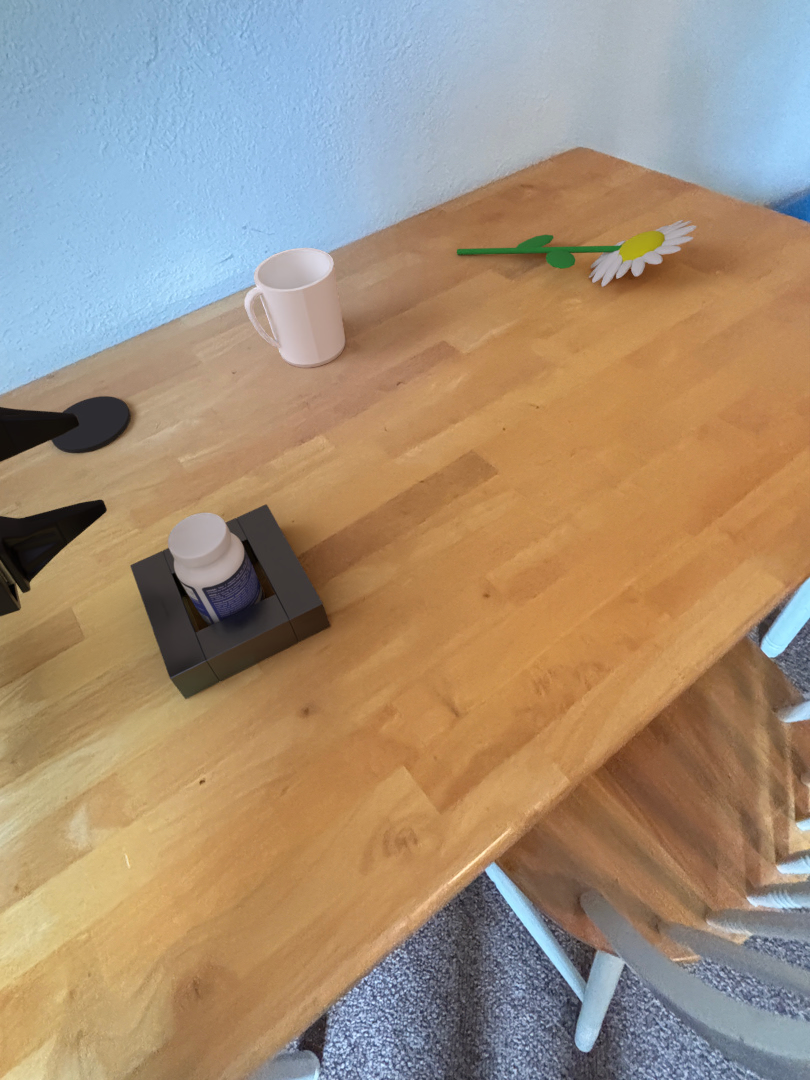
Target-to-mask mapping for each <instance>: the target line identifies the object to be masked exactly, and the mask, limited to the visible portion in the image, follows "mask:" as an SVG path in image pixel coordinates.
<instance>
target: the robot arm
mask: <svg viewBox="0 0 810 1080" xmlns="http://www.w3.org/2000/svg"><path fill="white" fill-rule="evenodd" d="M78 426H79V421H78V418H77V416H76V414H74V413H64V412H63V411H49V410H47V411H46V410H33V409H32V410H31V409H20V408H19V409H18V408H9V407H4V406H3V407H2V406H0V463H2V462H4V461H6V460H8V459H11V458H14V457H16V456H17V455H20V454H22V453H24V452H26V451H29V450H31V449H33V448H34V449H35V448H36V447H38V446H40V445H43V444H45V443H48V442H50V441H51V440H52V439H54V438H57V437H59V436H61V435H63V434H65V433H67V432H69V431H70V430H72V429H74V428H76V427H78ZM107 512H108V508H107V506H106V504H105V501H104V499H94V500H89V501H82V502H78V503H74V504H70V505H66V506H62V507H58V508H55V509H50V510H47V511H43V512H40V513H36V514H32V515H28V516H24V517H11V516H4V515H2V516H1V515H0V617H3V616H7V615H9V614H12V613H15V612H16V613H17V612H18V611H21V609H22V604H21V601H20V596H19V591H18V589H19V590H20V592H21V593H22V594H27V593H28V592H31V590H32V588H31V582H32V580H34V578H36V576H38V574H39V573H41V571H42V570H43V569H44V568H45V567H47V565H48V564H49V563H50V562H51V561H52V560H54V558H55V557H57V555H58V554H59V553H60V552H61V551H62V550H64V549H65V548H66V547H67V546H68V545H69V544H70V543H72V542H73V541H74V540H75V539H76V538H77V537H79V536H80V535H81V534H82V533H84V532H85V531H86V530H87V529H88V528H89V527H90V526H91V525H93V524H94V523H95V522H96V521H98V520H99V519H100V518H101V517H102V516H103V515H105V514H106V513H107Z"/></svg>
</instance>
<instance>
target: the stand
mask: <svg viewBox="0 0 810 1080" xmlns="http://www.w3.org/2000/svg"><path fill="white" fill-rule="evenodd" d="M225 523H226V525H227V527H228V529H229V531H230V532H231V533H233V534H234V535H236V536H237V537H238V538H239V539H240V541H241V542H242V544H243V546H244V548H245V550H246V553H247V555H248V557H249V559H250V561H251V564H252V566H254V565H256V564H257V565H258V566H259V568H260V570H261V572H262V574H263V576H264V578H265V580H266V582H267V584H268V586H269V588H270V590H271V592H272V593H273V595H271V596H269V597H267V598H265V600H262V601H260V602H258V603H256V604H254V605H252V606H250V607H248V608H246V609H244V610H242V611H240V612H238V613H235V614H233V615H231V616H229V617H227V618H225V619H223V620H221V621H219V622H217V623H215V624H213V625H210V626H208V625H207V626H206V627H204V628H202V629H199V626H198V624H197V621H196V619H195V616H194V614H193V611H192V609H191V606H190V603H189V602H188V599H187V596H189V595H188V594H187V592H186V590H185V589H184V587H183V585H182V584H181V582H180V580H179V579H178V577H177V575H176V573H175V569H174V557H173V555H172V553H171V552H170V550H169V547H167V548H165V549H163V550H161V551H158V552H157V553H154V554H152V555H150V556H148V557H147V556H146V558H143V559H141V560H139V561H137V562H133V563H132V564H130V565H129V567H130V570H131V573H132V575H133V578H134V581H135V583H136V586H137V589H138V592H139V595H140V598H141V600H142V603H143V606H144V609H145V612H146V615H147V618H148V620H149V623H150V626H151V629H152V632H153V635H154V638H155V640H156V643H157V646H158V649H159V652H160V654H161V658H162V661H163V663H164V666H165V669H166V672H167V675H168V677H169V679H170V681H171V682H172V684H173V685H174V686H175V687H176V689H177V690H178V691H179V694H180V695H181V696H182V697H183V698H184V699H185V700H187V699H189V698H191V697H194V696H195V695H198V694H200V693H202V692H203V691H205V690H207V689H209V688H211V687H213V686H215V685H217V684H219V683H222V682H223V681H225V680H227V679H229V678H232V677H233V676H235V675H238V674H240V673H241V672H243V671H246V670H248V669H249V668H251V667H253V666H255V665H257V664H259V663H261V662H264V661H266V660H267V659H269V658H271V657H273V656H275V655H277V654H279V653H281V652H283V651H285V650H287V649H289V648H291V647H294V646H295V645H297V644H299V643H301V642H303V641H305V640H306V639H309V638H310V637H313V636H314V635H316V634H319V633H321V632H323V631H324V630H326V629H328V628H330V627H332V625H331V623H330V620H329V616H328V613H327V611H326V607H325V605H324V602H323V601H322V599H321V597H320V595H319V594H318V592H317V590H316V588H315V586H314V585H313V583H312V582H311V580H310V578H309V576H308V575H307V573H306V571H305V569H304V567H303V566H302V564H301V562H300V560H299V558H298V557H297V555H296V553H295V552H294V549H293V547H292V546H291V545H290V543H289V541H288V539H287V538H286V535H285V534H284V532H283V530H282V529H281V527H280V525H279V523H278V522H277V520H276V518H275V516H274V514H273V512H272V510H271V509H270V507H269V506H268V504H264V505H261V506H259V507H257V508H255V509H252V510H250V511H248V512H245V513H243V514H241V515H238V516H236V517H234V518H232V519H230V520H228V521H225Z"/></svg>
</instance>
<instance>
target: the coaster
mask: <svg viewBox="0 0 810 1080" xmlns="http://www.w3.org/2000/svg"><path fill="white" fill-rule="evenodd" d="M62 412H64V413H74V414H76V416H77V418H78V421H79V426H78V427H76V428H74V429H72V430H70V431H69V432H67V433H65V434H63V435H61V436H59V437H57V438H54V439H52V440H50V441H51V442H52V444H53V445H54V447H56V448H57V449H58V450H60V451H62V452H65V453H69V454H81V453H83V454H84V453H89V452H93V451H95V450H98V449H101V448H103V447H105V446H107V445H109V444H111V443H112V442H114V441H115V440H117V439H118V438H119V437H120V436H122V434H123V433H124V432H125V431H126V430H127V428H128V426H129V424H130V422H131V416H132V415H131V411H130V409H129V407H128V404H126V402H124V400H122V399H120V398H118V397H116V396H115V397H114V396H106V395H104V396H103V395H100V396H93V397H90V398H85V399H83V400H81V401H78V402H76V403H74V404H72V405H70V406H69V407H67V408H66V409H64V410H63V411H62Z"/></svg>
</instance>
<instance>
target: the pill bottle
mask: <svg viewBox="0 0 810 1080" xmlns="http://www.w3.org/2000/svg"><path fill="white" fill-rule="evenodd" d="M225 522H226V521H225V519H224V518H222V516H220V515H218V514H216V513H214V512H197V513H194V514H191V515H189V516H187V517H185V518H183V519H182V520H180V521H179V522H177V523H176V524H175V525H174V526H173V528H172V529H171V531H170V532H169V534H168V538H167V548H169V550H170V552H171V553H172V555H173V557H174V569H175V573H176V575H177V577H178V579H179V580H180V582H181V584H182V585H183V587H184V589H185V590H186V592H187V594H188V595H187V596H188V597H189V599H190V601H191V602H192V604H193V606H194V607H195V609H196V610H197V612H198V614H199V616H200V617H201V619H202V620H203V621H204V623H205V624H206V626H207V627H208V626H210V625H213V624H215V623H217V622H219V621H221V620H223V619H225V618H227V617H229V616H231V615H233V614H235V613H238V612H240V611H242V610H244V609H246V608H248V607H250V606H252V605H254V604H256V603H258V602H260V601H262V600H265V599H266V595H265V591H264V588H263V585H262V583H261V581H260V579H259V577H258V575H257V573H256V570H255V568H254V565H252V564H251V561H250V559H249V557H248V555H247V553H246V550H245V548H244V546H243V544H242V542H241V541H240V539H239V538H238V537H237V536H236V535H234V534H233V533H231V532H230V531H229V529H228V527H227V525H226V523H225Z"/></svg>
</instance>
